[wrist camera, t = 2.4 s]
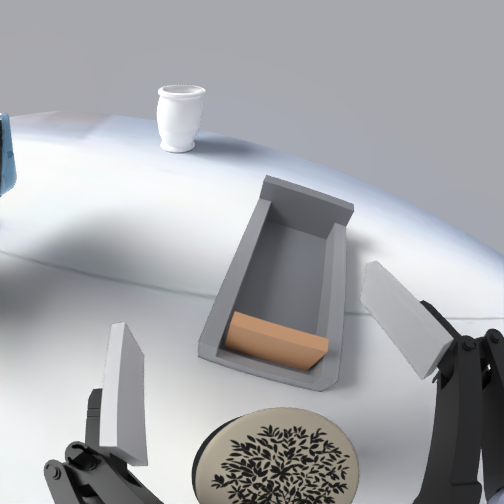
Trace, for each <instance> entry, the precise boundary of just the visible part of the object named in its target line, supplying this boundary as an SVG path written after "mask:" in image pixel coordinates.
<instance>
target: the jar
mask: <svg viewBox="0 0 504 504" xmlns="http://www.w3.org/2000/svg"><path fill="white" fill-rule="evenodd" d="M158 93H159V95H160V99H159V102H158V108H157V121H158V126H159V133H160V136H161V138H162V140H163V141H162V142H161V148H162V149H164V150H166V151H168V152H175V153H180V152H186V151H189V150H191V149H193V148H194V146H195V143H194V141H193V140H194V139H195V137H196V135H197V133H198V129H199V125H200V122H201V118H202V112H203V102H202V96H203V95H204V93H205V89H203V88H201V87H198V86H192V85H170V86H165V87H162V88H160V89H159V91H158Z"/></svg>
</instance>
